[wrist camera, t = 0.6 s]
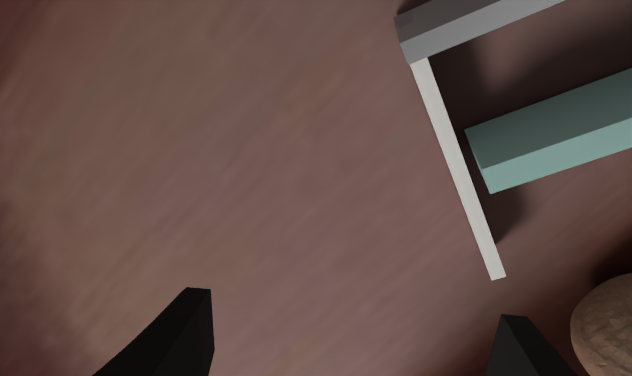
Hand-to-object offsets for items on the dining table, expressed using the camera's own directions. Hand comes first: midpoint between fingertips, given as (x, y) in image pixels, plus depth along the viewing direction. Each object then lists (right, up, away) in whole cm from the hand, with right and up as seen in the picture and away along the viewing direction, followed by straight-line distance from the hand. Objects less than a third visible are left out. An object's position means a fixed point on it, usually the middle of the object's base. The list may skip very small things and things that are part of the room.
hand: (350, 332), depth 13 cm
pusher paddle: (+10, +7, +6) cm, 14 cm away
